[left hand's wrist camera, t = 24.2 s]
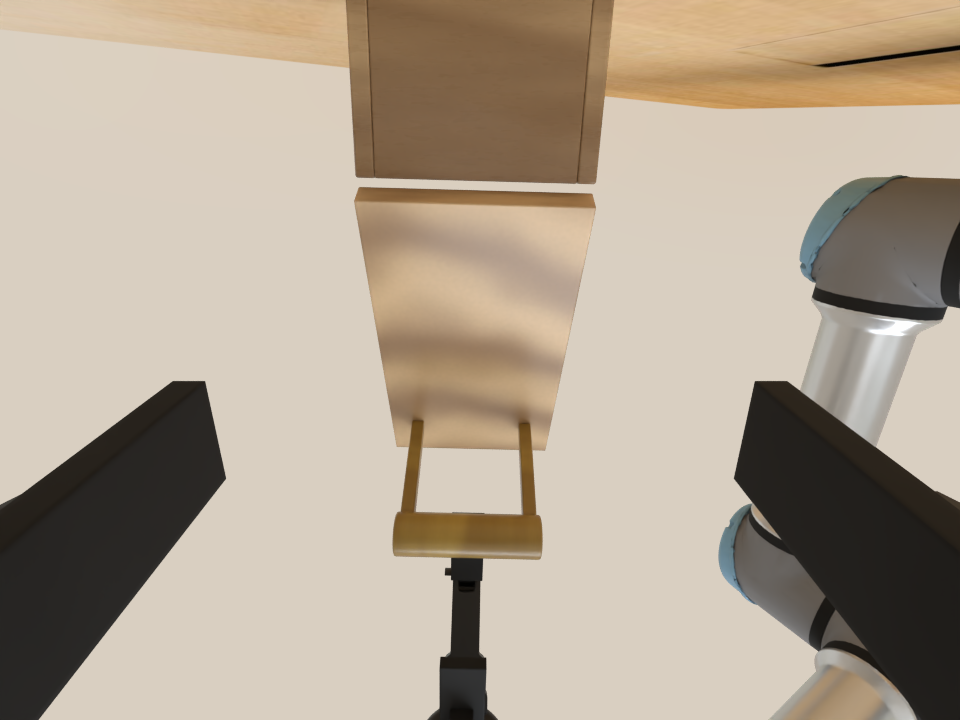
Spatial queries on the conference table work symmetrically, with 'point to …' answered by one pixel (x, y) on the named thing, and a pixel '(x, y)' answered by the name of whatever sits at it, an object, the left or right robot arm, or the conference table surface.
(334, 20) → the conference table surface
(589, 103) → the chest
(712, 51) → the conference table surface
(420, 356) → the lid
